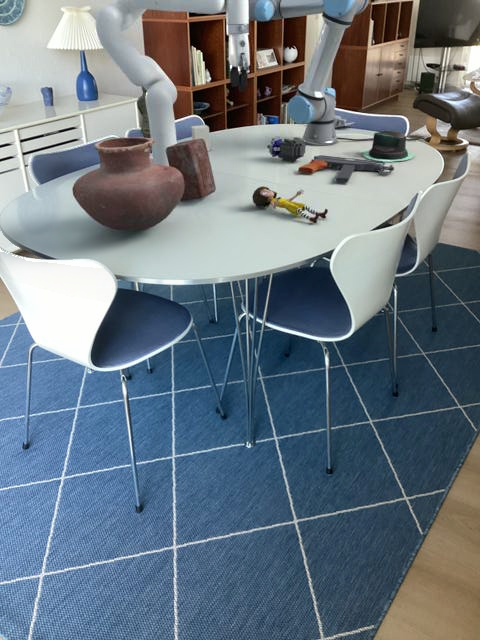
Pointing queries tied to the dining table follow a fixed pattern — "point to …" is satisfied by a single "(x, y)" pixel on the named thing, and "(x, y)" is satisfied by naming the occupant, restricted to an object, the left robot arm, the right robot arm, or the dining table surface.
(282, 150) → the toy
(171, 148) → the rough terracotta slab
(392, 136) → the dark porkpie hat
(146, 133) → the statue
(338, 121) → the camera
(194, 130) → the brick
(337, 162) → the submachine gun
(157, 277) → the dining table surface
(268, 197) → the figurine
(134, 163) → the clay pot
